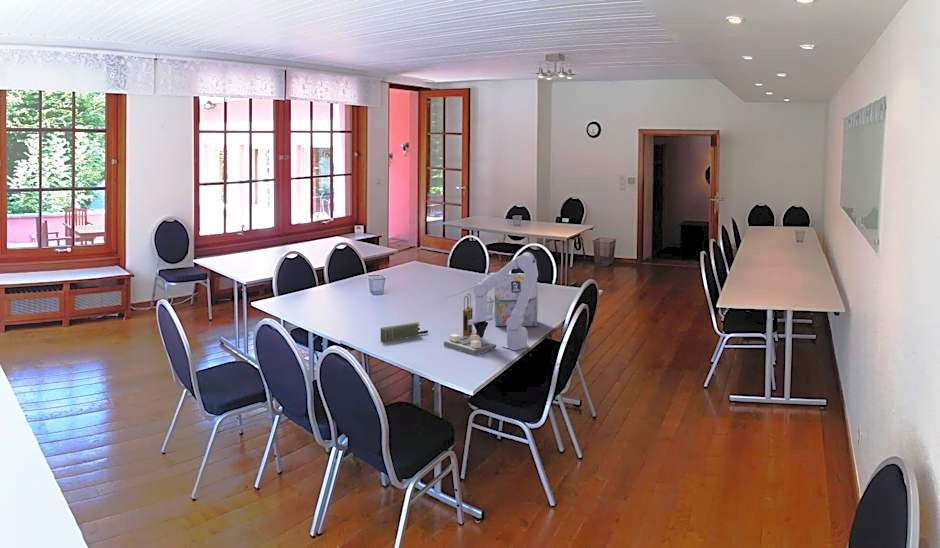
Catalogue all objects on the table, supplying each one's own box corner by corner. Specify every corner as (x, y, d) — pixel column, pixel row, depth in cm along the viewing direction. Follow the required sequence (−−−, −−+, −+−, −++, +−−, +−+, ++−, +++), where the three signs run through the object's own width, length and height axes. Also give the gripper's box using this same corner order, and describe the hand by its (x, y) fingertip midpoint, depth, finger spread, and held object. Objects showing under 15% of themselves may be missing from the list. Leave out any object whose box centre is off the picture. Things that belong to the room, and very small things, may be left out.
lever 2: (475, 345, 341) (475, 340, 340) (481, 347, 338) (481, 341, 338) (470, 346, 339) (470, 341, 338) (476, 348, 336) (476, 343, 336)
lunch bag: (493, 328, 379) (493, 276, 374) (493, 319, 396) (494, 270, 391) (537, 329, 379) (539, 277, 373) (536, 320, 395) (537, 270, 390)
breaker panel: (465, 340, 358) (465, 335, 357) (496, 348, 344) (496, 344, 343) (443, 345, 348) (443, 341, 348) (474, 355, 334) (474, 350, 334)
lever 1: (454, 339, 351) (454, 334, 350) (459, 340, 348) (459, 335, 348) (449, 340, 349) (449, 335, 348) (454, 342, 346) (454, 336, 346)
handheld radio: (379, 340, 356) (425, 333, 370) (382, 342, 354) (429, 335, 367) (379, 327, 355) (426, 320, 368) (382, 329, 352) (429, 321, 366)
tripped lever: (474, 339, 350) (474, 334, 349) (479, 341, 347) (479, 335, 347) (469, 341, 348) (469, 335, 347) (475, 342, 345) (475, 336, 345)
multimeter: (480, 340, 358) (481, 299, 354) (460, 338, 360) (460, 297, 357) (488, 332, 372) (489, 292, 368) (469, 330, 374) (469, 291, 370)
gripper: (485, 304, 355) (485, 332, 358) (463, 309, 345) (463, 338, 348) (496, 307, 350) (496, 335, 353) (474, 312, 340) (473, 341, 343)
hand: (480, 337), depth 350 cm, fingers closed
